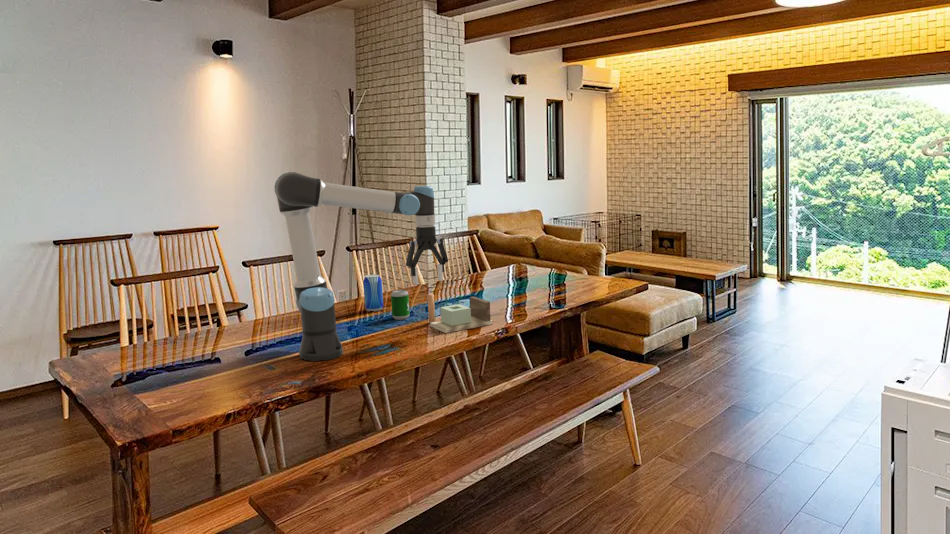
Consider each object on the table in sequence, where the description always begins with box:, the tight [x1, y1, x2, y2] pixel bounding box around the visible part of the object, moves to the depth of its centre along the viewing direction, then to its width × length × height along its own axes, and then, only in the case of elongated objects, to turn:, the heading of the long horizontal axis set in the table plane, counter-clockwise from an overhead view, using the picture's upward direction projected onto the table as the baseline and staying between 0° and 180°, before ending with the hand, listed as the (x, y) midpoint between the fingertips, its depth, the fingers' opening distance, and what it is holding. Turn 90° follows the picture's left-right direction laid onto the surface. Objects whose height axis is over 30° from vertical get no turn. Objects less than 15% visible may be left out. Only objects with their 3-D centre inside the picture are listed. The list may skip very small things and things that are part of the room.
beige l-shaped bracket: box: [429, 296, 494, 334], centre depth 260 cm, size 22×13×10 cm, turn 120°
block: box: [439, 303, 471, 326], centre depth 259 cm, size 9×9×6 cm
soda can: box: [390, 289, 411, 321], centre depth 276 cm, size 8×8×12 cm
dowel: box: [427, 293, 436, 325], centre depth 265 cm, size 3×3×12 cm
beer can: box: [362, 274, 384, 312], centre depth 293 cm, size 8×8×16 cm
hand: (428, 282), depth 251 cm, fingers open, 10 cm apart
